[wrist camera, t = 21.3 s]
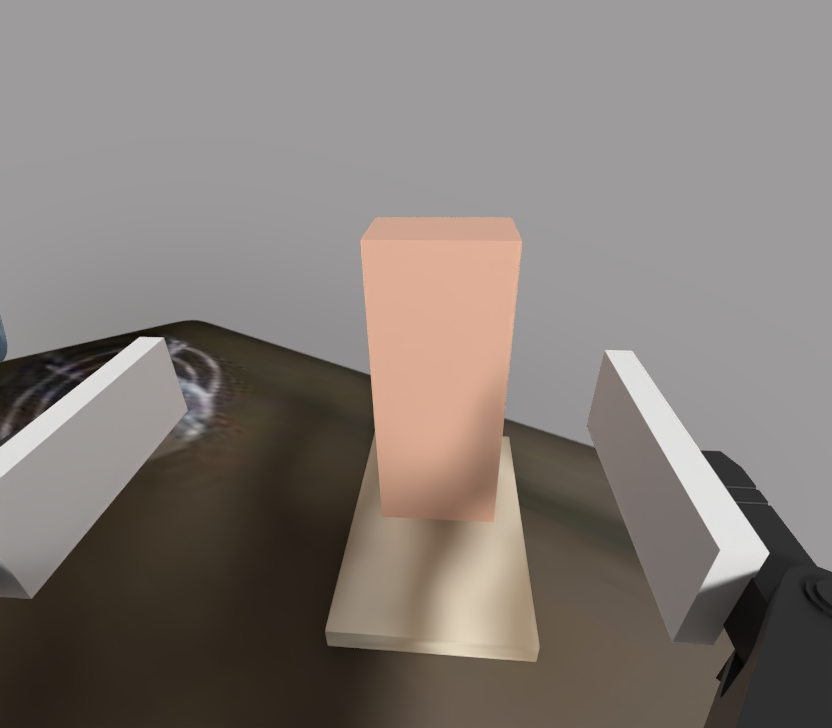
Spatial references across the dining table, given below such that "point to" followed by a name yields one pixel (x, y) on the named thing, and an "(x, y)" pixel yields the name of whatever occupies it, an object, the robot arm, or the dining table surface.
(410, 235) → the salmon pink rectangular block
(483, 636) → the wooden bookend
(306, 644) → the dining table surface
